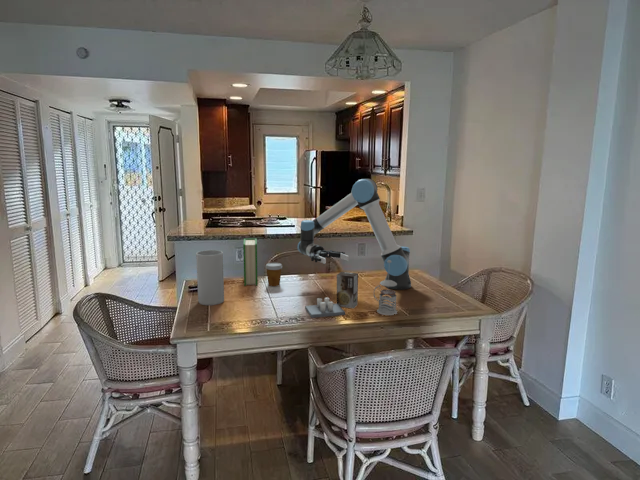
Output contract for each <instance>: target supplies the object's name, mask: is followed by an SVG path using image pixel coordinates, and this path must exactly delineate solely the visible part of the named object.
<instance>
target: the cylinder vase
mask: <svg viewBox="0 0 640 480" xmlns="http://www.w3.org/2000/svg"><path fill="white" fill-rule="evenodd" d="M195 253H196V254H195V255H196V257H195V258H196V277H197V278H196V279H197V301H198V303H199V304H200V305H203V306H217V305H219V304H220V305H221V304H222V303H224V301H225V284H224V282H225V281H224V280H225V278H224V252H223V251H222V250H219V249H218V250H217V249H206V250H199V251H197V252H195Z"/></svg>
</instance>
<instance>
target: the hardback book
mask: <svg viewBox="0 0 640 480" xmlns="http://www.w3.org/2000/svg"><path fill="white" fill-rule="evenodd" d="M257 239H258V238H249V237H248V238H243V243H242V244H243V247H242V250H243V282H244V283H243V285H244V286H243V287H247V285H249V286H250V285H255V286H256V287H257V286H258V242H257V241H258V240H257Z"/></svg>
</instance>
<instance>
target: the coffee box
mask: <svg viewBox="0 0 640 480" xmlns="http://www.w3.org/2000/svg"><path fill="white" fill-rule="evenodd" d="M358 293H359V273H356V272H348V271H340V272H339V273H338V274H336V303H337V304H338V305H339V306H340V307H341V308H346V309H347V308H349V309H355V308H356V307H357V306H358V304H359V303H358V301H359V299H358V297H359V295H358Z"/></svg>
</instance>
